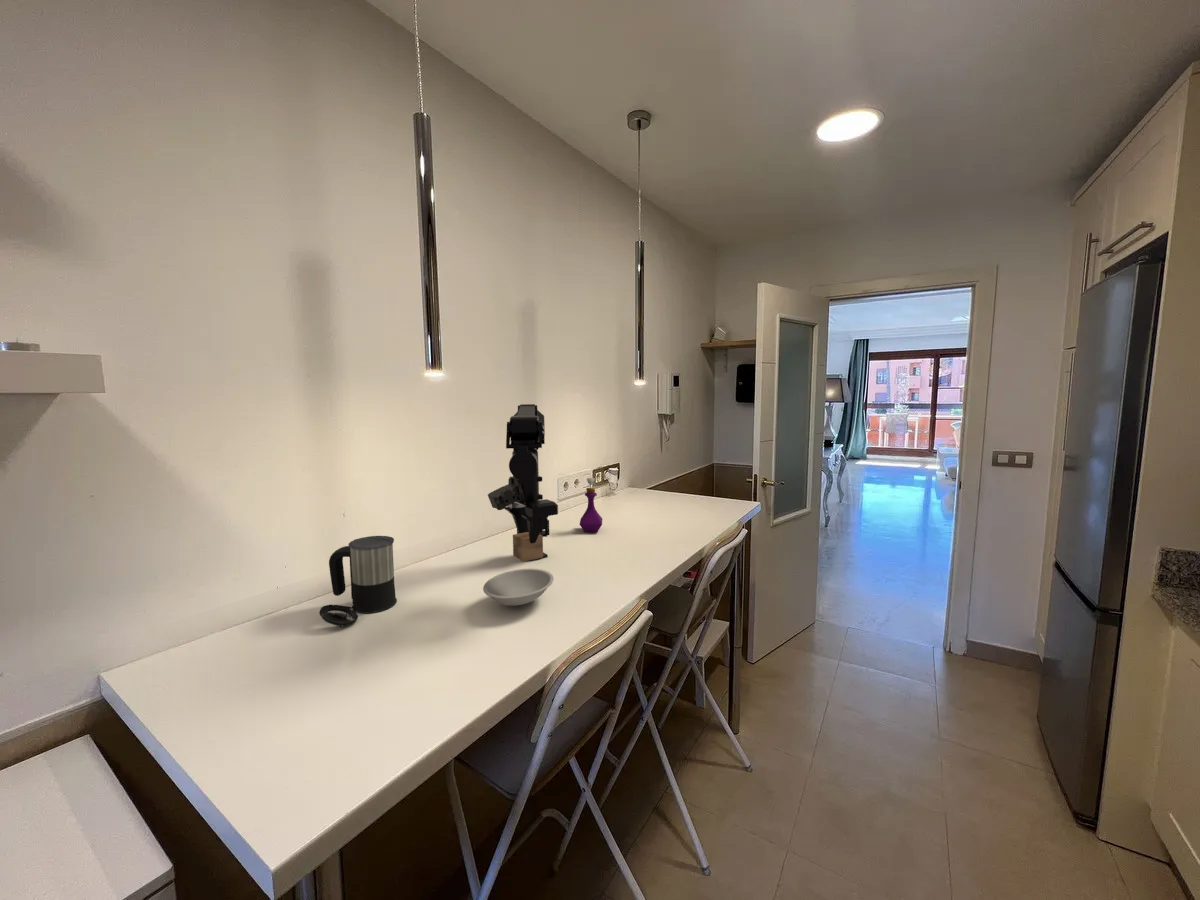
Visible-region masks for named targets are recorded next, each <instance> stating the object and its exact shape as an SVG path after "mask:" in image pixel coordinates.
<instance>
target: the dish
mask: <svg viewBox="0 0 1200 900" xmlns="http://www.w3.org/2000/svg"><path fill="white" fill-rule="evenodd" d="M553 582H554V576H553V574H552V573H551V572H549V571H547V570H543V569H540V568H519V569H514V570H513V569H512V570H509V571H505V572H502V573H500V574H498V575H497V574H496V575H495V576H493V577H492V578H489V579H488V580H487V581H486V582H485V583H484V585H483V588H482V590H483V593H484V594H485V595H486V596H488V597H490V598H491V599H493V601H495V602H497V603H499V604H502V605H504V606H511V607H512V606H514V607H515V606H523V605H526V604H530V603H531V602H533V601H535V600H537V599H539V597H541V596H542V595H543V594H544V592H546V591H547V589H548V588H549V587H550V586H552V584H553Z"/></svg>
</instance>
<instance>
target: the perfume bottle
mask: <svg viewBox="0 0 1200 900" xmlns="http://www.w3.org/2000/svg"><path fill="white" fill-rule="evenodd" d="M595 480H596V478H594V477H587V478H586V482H587V483H588V484H589V486H590V487H586V489H585V490H586V492H585V493H584V496H585V497H586V498H587V508H586V510H585V512H584V513H583V514H582V516H581V517H580V520H579V526H580V528H581V529H582V531H583V532H584V533H586V532H589V533H598V532H599V530H600V529H601V527H602V526H603V517H602V516H601V515H600V513H599V512H598V511H597V509H596V506H595V502H594V501H595V497H596V496H597V495H598V493H597V492H596V489H595V488H593V487H592V485H593V484H594V483H595Z"/></svg>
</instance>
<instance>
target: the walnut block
mask: <svg viewBox="0 0 1200 900" xmlns="http://www.w3.org/2000/svg"><path fill="white" fill-rule="evenodd" d="M543 540H544V537H543V536H542V535H540V534H539V536H538V538H537V540H536V542H535V543H530V538H529V532H525V533H519V534H517V533H515V534H512V551H513V552H512V553H513V557H515V558H516V559H518V560H520V561H521V562H529V561H528V560H530V561H534V560H533V559H535V560H538V558H539V559H542V557H543V552H544V542H543Z"/></svg>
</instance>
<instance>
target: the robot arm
mask: <svg viewBox="0 0 1200 900" xmlns="http://www.w3.org/2000/svg"><path fill="white" fill-rule="evenodd" d="M545 429H546V428H545V416H544V414H543V413H542V412H540V411H539V410H538V405H537V404H533V403H530V404H529V403H528V404H527V403H526V404H523V403H521V404H518V405H517V411H516V413H514V415H512V416H510V417H509V421H507V422H506V436H505V437H506V438H505V440H506V441H505V448H506V449H507V450H508V449H510V450H511V449H513V450H512V453H511V455H512V456H511V457H510V459H509V462H508V468H509V472H510V473H511V474H512V476H509V478H508V481H507V483H508V484H505V485H503V486H501V487H499V488H497V489H494V490H493V491H491V492H488V494H487V498H488V500H489V503H490V505H491V507H492V508H493V509H496V510H498V511H502V510H505V511H507V512H508V513H509V514H510V515H511V517H512V518H513V519H512V520H513V521H514V524H515V527H516V534H519V533H525V532H529V538H530V543H535V542H536V540H537V538H538V536H539V534H540V535H542V536H543V538H544V537H545V538H546V537H548V536H550V520H549V519H548V517H550V516H557V515H559V505H558V503H557V502H555V501H553V500H550V499H547V498H546V499H544V498H543V497H544V496H543V494H541V493H540V487H539V486H540V482H543V476H540V475H539V451H538V450H539V449H542V448H543V445H545V442H546V441H545V435H546V432H545V431H546V430H545ZM548 556H549V555H548V554H547V553H546V552H544V551H543V557H542V558H543V559H544V558H547V557H548ZM542 558H541V559H542ZM538 559H540V558H538ZM538 559H537V560H538ZM534 560H536V559H533V560H532V561H534ZM529 561H531V560H528V561H527V562H529Z"/></svg>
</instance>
